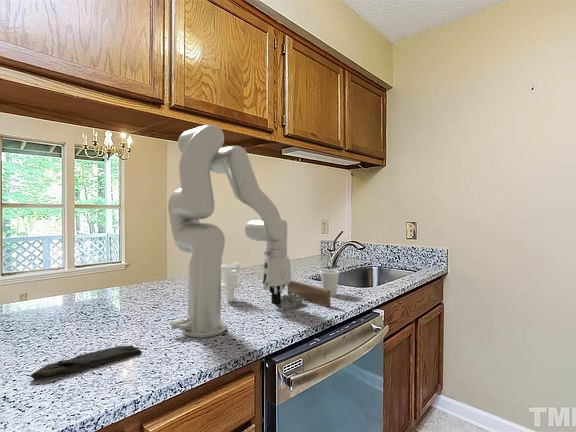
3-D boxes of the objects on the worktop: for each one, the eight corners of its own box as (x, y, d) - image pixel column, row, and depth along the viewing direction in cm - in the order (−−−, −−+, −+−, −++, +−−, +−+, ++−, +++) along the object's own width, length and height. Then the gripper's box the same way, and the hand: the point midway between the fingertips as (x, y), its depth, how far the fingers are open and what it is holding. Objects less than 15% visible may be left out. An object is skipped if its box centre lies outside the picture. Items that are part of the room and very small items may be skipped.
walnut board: (326, 307, 120) (326, 291, 120) (287, 295, 137) (287, 280, 137) (330, 306, 122) (330, 290, 122) (291, 294, 138) (291, 280, 138)
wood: (134, 345, 86) (134, 334, 86) (144, 354, 81) (144, 342, 81) (27, 374, 71) (27, 360, 71) (31, 388, 66) (31, 373, 65)
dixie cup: (342, 293, 141) (342, 270, 141) (334, 298, 134) (335, 273, 133) (324, 290, 145) (324, 268, 145) (316, 295, 138) (316, 271, 138)
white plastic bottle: (235, 303, 124) (236, 264, 123) (218, 302, 125) (218, 263, 125) (241, 298, 131) (241, 261, 130) (224, 297, 132) (224, 260, 131)
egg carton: (284, 310, 117) (284, 299, 117) (271, 306, 123) (271, 295, 123) (306, 305, 124) (306, 294, 124) (293, 301, 130) (293, 290, 129)
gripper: (266, 256, 110) (265, 310, 111) (298, 253, 120) (298, 302, 121) (253, 254, 116) (253, 305, 116) (285, 251, 126) (284, 298, 126)
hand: (276, 303), depth 119 cm, fingers closed
